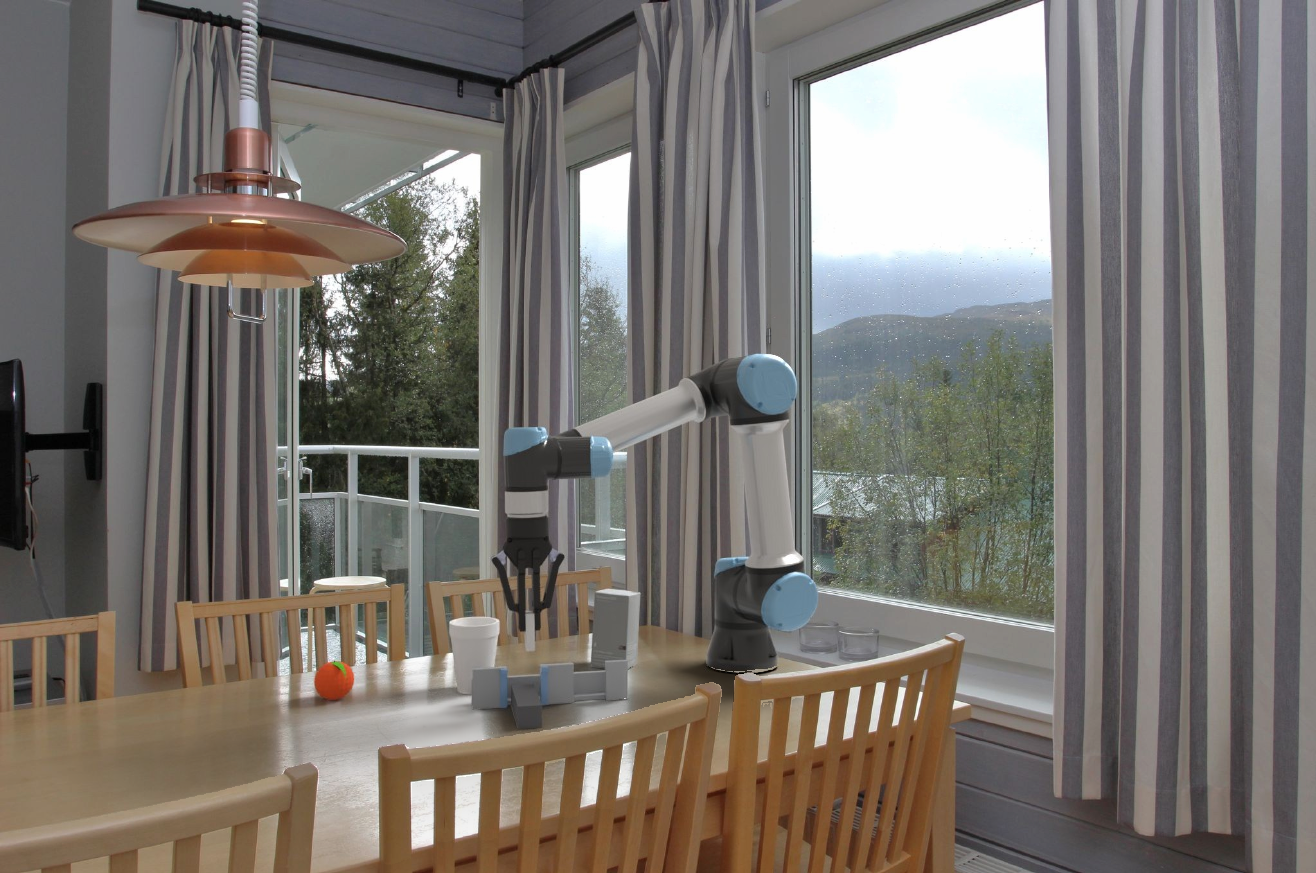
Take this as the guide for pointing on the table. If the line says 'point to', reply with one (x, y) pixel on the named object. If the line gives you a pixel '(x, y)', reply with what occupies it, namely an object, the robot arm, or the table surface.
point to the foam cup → (472, 647)
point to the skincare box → (615, 627)
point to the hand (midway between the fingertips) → (530, 649)
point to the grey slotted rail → (550, 684)
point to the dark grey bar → (526, 706)
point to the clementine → (334, 680)
